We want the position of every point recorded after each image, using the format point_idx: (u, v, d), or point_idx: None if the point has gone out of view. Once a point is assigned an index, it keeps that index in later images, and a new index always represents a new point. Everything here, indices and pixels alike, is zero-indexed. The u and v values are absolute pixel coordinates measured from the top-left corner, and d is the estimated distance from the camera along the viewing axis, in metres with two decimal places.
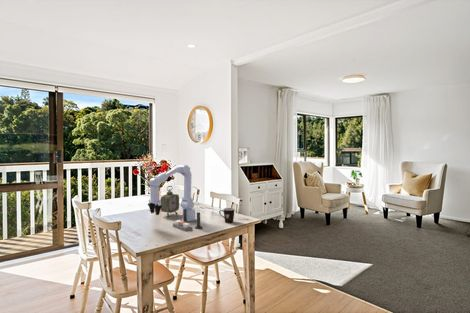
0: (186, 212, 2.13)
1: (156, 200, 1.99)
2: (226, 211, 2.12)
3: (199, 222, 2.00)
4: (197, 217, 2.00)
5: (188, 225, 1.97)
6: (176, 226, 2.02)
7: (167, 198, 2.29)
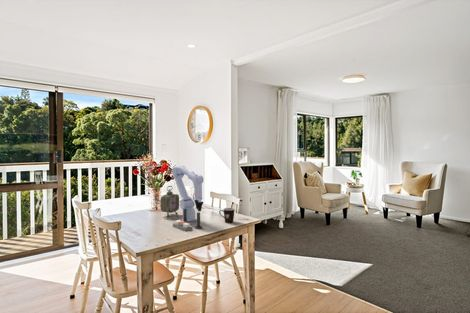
0: (186, 213, 2.13)
1: (198, 197, 2.08)
2: (226, 211, 2.12)
3: (199, 222, 2.00)
4: (197, 217, 2.00)
5: (188, 225, 1.97)
6: (176, 226, 2.02)
7: (167, 198, 2.29)
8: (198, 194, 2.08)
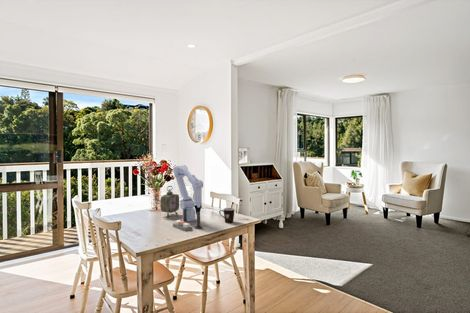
0: (186, 213, 2.13)
1: (198, 202, 2.08)
2: (226, 211, 2.12)
3: (199, 222, 2.00)
4: (197, 217, 2.00)
5: (188, 225, 1.97)
6: (176, 226, 2.02)
7: (167, 198, 2.29)
8: (197, 199, 2.08)
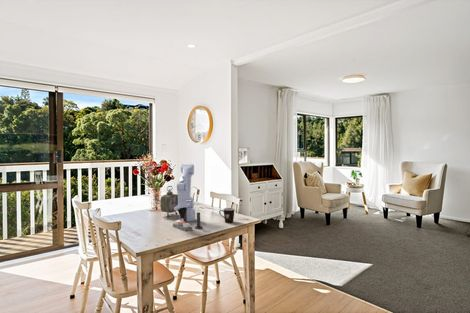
0: (186, 212, 2.13)
1: (179, 205, 1.99)
2: (226, 211, 2.12)
3: (199, 222, 2.00)
4: (197, 217, 2.00)
5: (188, 225, 1.97)
6: (176, 226, 2.02)
7: (167, 198, 2.29)
8: (179, 202, 1.99)
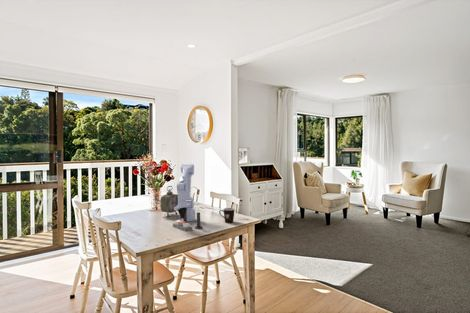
0: (186, 212, 2.13)
1: (179, 205, 1.99)
2: (226, 211, 2.12)
3: (199, 222, 2.00)
4: (197, 217, 2.00)
5: (188, 225, 1.97)
6: (176, 226, 2.02)
7: (167, 198, 2.29)
8: (179, 202, 1.99)
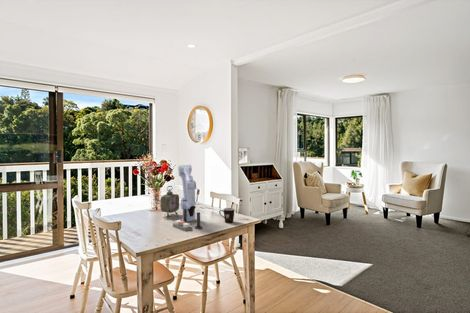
0: (186, 212, 2.13)
1: (189, 203, 2.04)
2: (226, 211, 2.12)
3: (199, 222, 2.00)
4: (197, 217, 2.00)
5: (188, 225, 1.97)
6: (176, 226, 2.02)
7: (167, 198, 2.29)
8: (189, 200, 2.04)
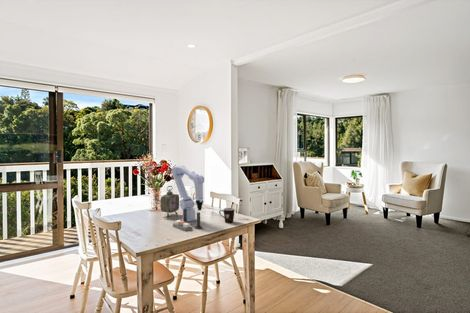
0: (186, 212, 2.13)
1: (199, 197, 2.08)
2: (226, 211, 2.12)
3: (199, 222, 2.00)
4: (197, 217, 2.00)
5: (188, 225, 1.97)
6: (176, 226, 2.02)
7: (167, 198, 2.29)
8: (199, 194, 2.08)
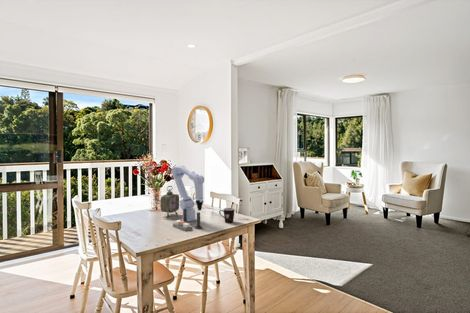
0: (186, 212, 2.13)
1: (199, 197, 2.08)
2: (226, 211, 2.12)
3: (199, 222, 2.00)
4: (197, 217, 2.00)
5: (188, 225, 1.97)
6: (176, 226, 2.02)
7: (167, 198, 2.29)
8: (199, 194, 2.08)
